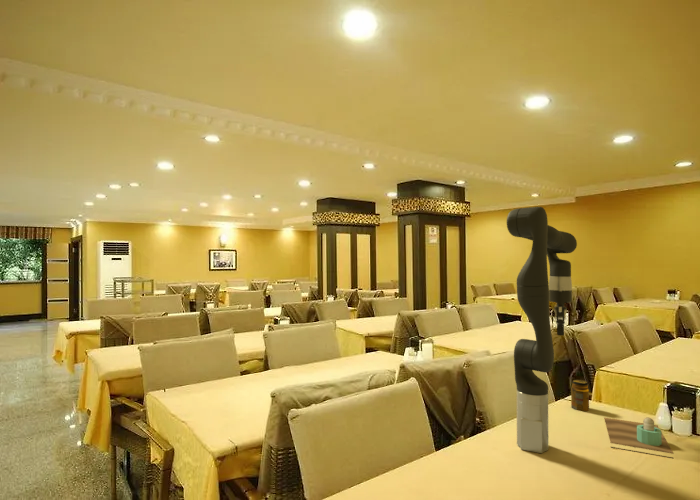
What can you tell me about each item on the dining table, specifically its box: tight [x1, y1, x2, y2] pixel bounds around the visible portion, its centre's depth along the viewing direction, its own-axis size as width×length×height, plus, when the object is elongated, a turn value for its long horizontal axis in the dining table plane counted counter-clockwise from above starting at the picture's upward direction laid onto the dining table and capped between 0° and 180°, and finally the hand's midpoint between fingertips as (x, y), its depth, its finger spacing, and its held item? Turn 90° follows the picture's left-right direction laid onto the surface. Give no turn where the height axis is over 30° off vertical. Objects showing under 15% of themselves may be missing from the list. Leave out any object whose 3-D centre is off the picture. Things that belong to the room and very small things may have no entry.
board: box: [603, 417, 674, 460], centre depth 140 cm, size 24×16×9 cm, turn 153°
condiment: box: [570, 379, 590, 412], centre depth 163 cm, size 7×8×12 cm
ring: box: [637, 425, 662, 446], centre depth 134 cm, size 6×6×4 cm
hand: (560, 333), depth 154 cm, fingers open, 8 cm apart
